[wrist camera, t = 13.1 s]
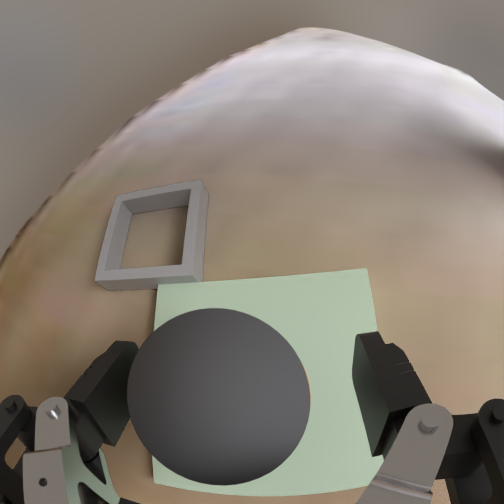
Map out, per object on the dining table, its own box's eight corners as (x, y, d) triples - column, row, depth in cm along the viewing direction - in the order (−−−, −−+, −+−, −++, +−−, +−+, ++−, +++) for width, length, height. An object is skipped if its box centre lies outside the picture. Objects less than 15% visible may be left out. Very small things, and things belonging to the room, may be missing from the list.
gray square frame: (208, 195, 22) (202, 179, 21) (202, 286, 19) (192, 275, 17) (127, 208, 23) (116, 195, 22) (108, 290, 20) (94, 280, 18)
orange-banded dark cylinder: (300, 351, 15) (307, 297, 6) (303, 427, 13) (316, 488, 4) (221, 355, 16) (129, 306, 7) (222, 428, 13) (126, 470, 5)
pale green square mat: (364, 273, 17) (366, 268, 17) (380, 478, 11) (383, 481, 10) (162, 288, 19) (158, 284, 18) (159, 480, 12) (154, 482, 12)
